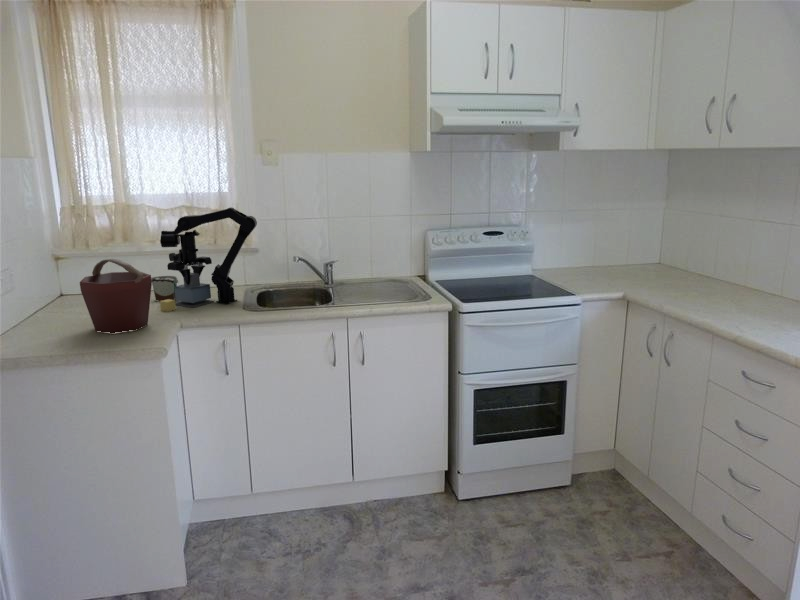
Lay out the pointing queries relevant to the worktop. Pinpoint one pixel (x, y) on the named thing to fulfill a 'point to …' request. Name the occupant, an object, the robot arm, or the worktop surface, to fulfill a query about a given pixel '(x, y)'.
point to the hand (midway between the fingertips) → (192, 283)
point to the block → (167, 305)
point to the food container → (164, 287)
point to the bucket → (117, 298)
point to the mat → (199, 303)
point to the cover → (192, 290)
